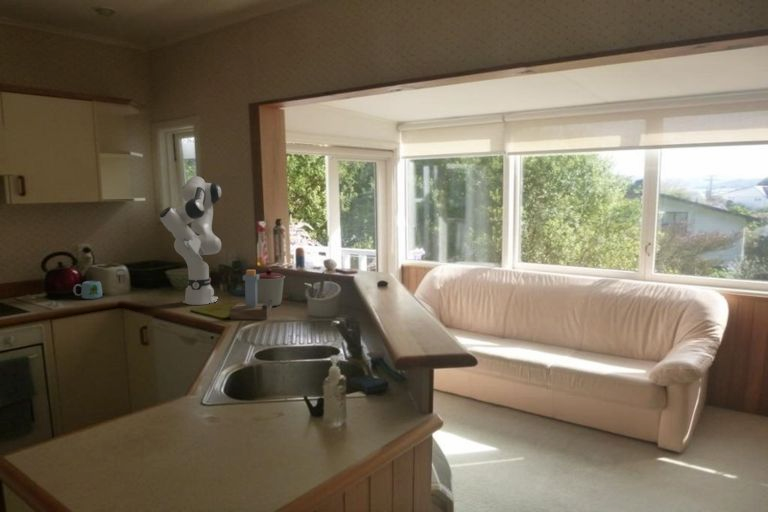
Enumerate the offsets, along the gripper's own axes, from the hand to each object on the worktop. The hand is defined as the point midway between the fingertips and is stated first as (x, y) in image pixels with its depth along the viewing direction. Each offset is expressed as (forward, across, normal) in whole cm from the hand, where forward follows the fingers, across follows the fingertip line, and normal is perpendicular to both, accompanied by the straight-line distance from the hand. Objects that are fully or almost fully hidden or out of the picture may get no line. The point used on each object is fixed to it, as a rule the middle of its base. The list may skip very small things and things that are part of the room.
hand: (202, 257), depth 263 cm
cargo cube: (+19, -14, -16) cm, 29 cm away
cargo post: (+31, -18, -8) cm, 37 cm away
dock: (+35, -19, -6) cm, 40 cm away
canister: (+46, +6, -10) cm, 47 cm away
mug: (-6, +45, +81) cm, 93 cm away
